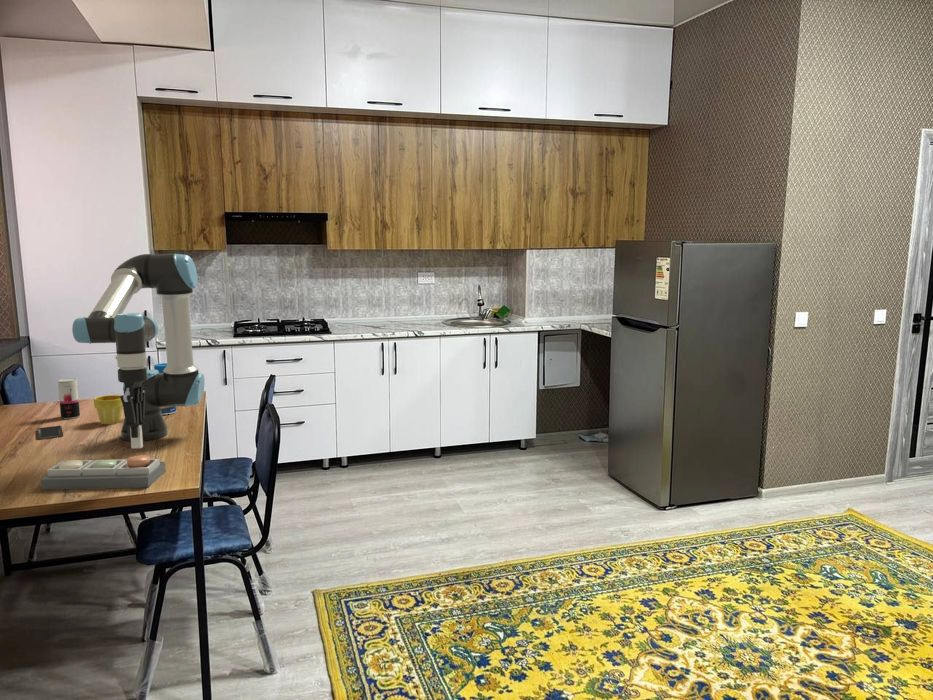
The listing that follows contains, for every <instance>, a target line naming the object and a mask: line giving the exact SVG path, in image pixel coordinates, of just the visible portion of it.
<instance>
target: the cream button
mask: <svg viewBox="0 0 933 700" xmlns="http://www.w3.org/2000/svg"><path fill="white" fill-rule="evenodd" d="M80 460H81V459H79V460H78V459H74V460H73V459H72V461H66V460H65V461H66V462H62V463H60V464H59V469H78V468H80V467H81V466H83V462H82V461H80Z"/></svg>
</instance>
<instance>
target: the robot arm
mask: <svg viewBox="0 0 933 700" xmlns="http://www.w3.org/2000/svg"><path fill="white" fill-rule="evenodd" d="M197 286H198V272H197V268H196V264H195V262H194V260H193V259H192V257H191V256H189V255H187V254H181V253H161V254H160V253H155V254H153V253H152V254H150V253H149V254H148V253H144V254H142V253H141V254H139V255H136V256H135V255H134V256H133V257H131V258H129V259H127V260H125V261H123V262H122V263H121V264H120V265H118V266H117V268H116V269H115V270H114V271H113V272H112V274H111V277H110V283H109V285H108V287H107V288H106V289H105V291H104V293H103V294H102V296H101V297H100V299H99V300H98V301H97V303H96V305H95V306H94V308H93V309H92V311H91V312H90V314H89V315H88V317H85V316H83V317H77V318H75V319H74V321H73V323H72V327H71V328H72V329H71V330H72V336H73V339H74V340H75V342H77V343H79V344H109V343H110V344H111V343H112V344H113V343H114V344H115V349H116V351H115V352H116V355H115V357H114V358H115V360H116V365H117V367H118V369H117V380H118V382H119V383H123V385H122V386H123V388H122V390H123V391H122V392H123V395H121V397H120V398H121V401H122V404H123V406H122V411H123V415H124V421H123V423H122V426H121V427H122V428H121V429H120V430H121V431H120V435H121V439H122V440H123V441H129V442H130V445H131V446H130V448H131V449H142V448H143V447H144V444H143V443H144V441H151V440H156V439H160V438H163V437H165V436H167V435H168V433H169V432H168V426H167V423H166V420H165V418H164V417H163V416H164V415H162V414H161V407H170V406H176V407H186V408H187V407H194V406H197V405H199V404H200V403H201V401H202V400H203V399H202V398H203V395H204V391H205V379H206V378H205V375H204V373H202V372H199V367H198V366H197V365H196V364H194V355H193V340H192V328H191V327H192V326H191V314H190V313H191V311H190V300H189V299H190V297H191V295H193V293H194V292H193V289H196V288H197ZM141 289H155V290H156V296H158V297H159V298H161V302H162V303H161V305H162V315H163V317H162V318H163V327H164V330H163V331H164V341H165V351H166V363H167V367H166V368H165V369H164V370H163V374H159V371H158V370H154V369H148V368H147V367H146V366H147V353H146V343H147V342H150V341H152V340H153V339H154V338H155V337H156V336H157V335H158V333H159V332H158V331H159V325H158V323H157V320H155V319H154V318H152V317H151V316H148V315H147V316H146V315H145V316H143V314H142V313H140V312H125V313H124V311H125V309H126V308H127V306H128V304H129V303H130V301H131V300H132V297H133V296H134V294H137V293H138V292H139V291H141Z"/></svg>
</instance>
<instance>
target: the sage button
mask: <svg viewBox="0 0 933 700" xmlns="http://www.w3.org/2000/svg"><path fill="white" fill-rule="evenodd" d="M100 460H101V461H97V462H95V463H94V464H93V468H113V467H115V466H116V465H117V464H116V460H117V459H100Z"/></svg>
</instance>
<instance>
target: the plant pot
mask: <svg viewBox="0 0 933 700" xmlns="http://www.w3.org/2000/svg"><path fill="white" fill-rule="evenodd" d="M120 397H121V395H120V394H108V395H107V394H106V395H100V396H96V397H94V399H93V406H94V408H95V409H96V412H97V415H98V419H99V421H100V424H101V425H115V424H118V423H120V422H121V418H122V417H121V416H122V411H123V404H122V401H121V398H120Z"/></svg>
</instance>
